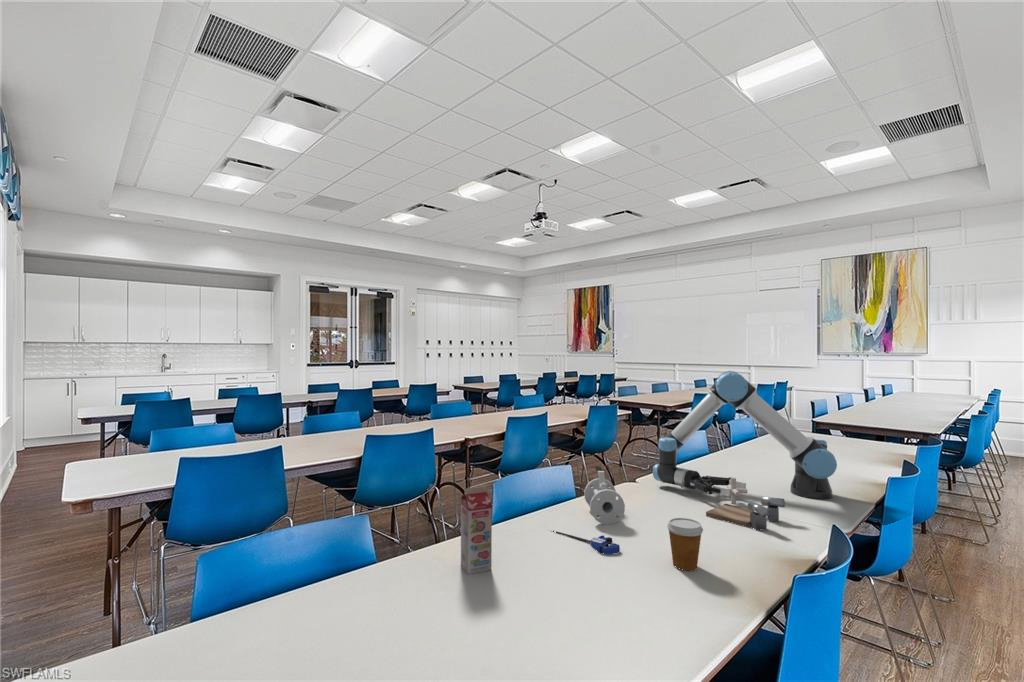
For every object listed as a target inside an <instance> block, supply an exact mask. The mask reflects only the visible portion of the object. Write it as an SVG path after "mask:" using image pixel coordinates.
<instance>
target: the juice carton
mask: <svg viewBox="0 0 1024 682" xmlns="http://www.w3.org/2000/svg"><path fill="white" fill-rule="evenodd" d="M492 503H493V500H492V499H491V497H490V495H489V493H488V485H485V486H476V487H467V488H464V494H463V495H462V496H461V497H460V565H461V567H462V568H463V570H464V571H465V572H466V574H467V575H472V574H473V575H474V574H477V573H483V571H484V572H489V571H492V546H493V545H492V541H493V540H492V535H493V534H492V528H493V527H492V523H493V522H492V521H493V518H492V517H493V515H492V511H493V509H492V508H493V507H492V506H493V504H492ZM488 570H489V571H488Z"/></svg>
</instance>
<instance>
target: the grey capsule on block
mask: <svg viewBox="0 0 1024 682" xmlns="http://www.w3.org/2000/svg"><path fill="white" fill-rule="evenodd" d="M785 503H786V502H785V498H778V497H769V496H761V506H763V507H766V508H767V509H768V510H769V515H768V516H767V520H768V522H769V523H775V522H778V523H777V524H779V523H780V522H779V521H780V518H779V517H780V515H779V514H780V510H779V508H785V507H786V504H785Z"/></svg>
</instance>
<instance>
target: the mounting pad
mask: <svg viewBox="0 0 1024 682" xmlns="http://www.w3.org/2000/svg"><path fill="white" fill-rule="evenodd" d="M750 512H753V511H751V510H749V509H748V508H745V507H742V506H737V505H735V504H731V503H724V504H721V505H718V506H716V507H714V508H712V509H709V510H706V512H705V516H706V517H708V516H709V518H712V517H713V518H712V519H717V520H719V519H720V521H723V520H725V521H724V522H727V521H729V522H728V523H731V522H733V523H732V524H734V523H736V524H735V525H738V524H740V525H739V526H742V525H744V526H743V527H745V526H749V527H750Z"/></svg>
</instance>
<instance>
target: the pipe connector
mask: <svg viewBox="0 0 1024 682" xmlns="http://www.w3.org/2000/svg"><path fill="white" fill-rule="evenodd" d="M730 478H731V485H728V486H726V488H728V489H730V504H731V505H736V504H737V497H740V496H741V494H748V489H747V488H746V489H740V488H736V481H737V478H736V476H735V477H734V476H732V477H730Z"/></svg>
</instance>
